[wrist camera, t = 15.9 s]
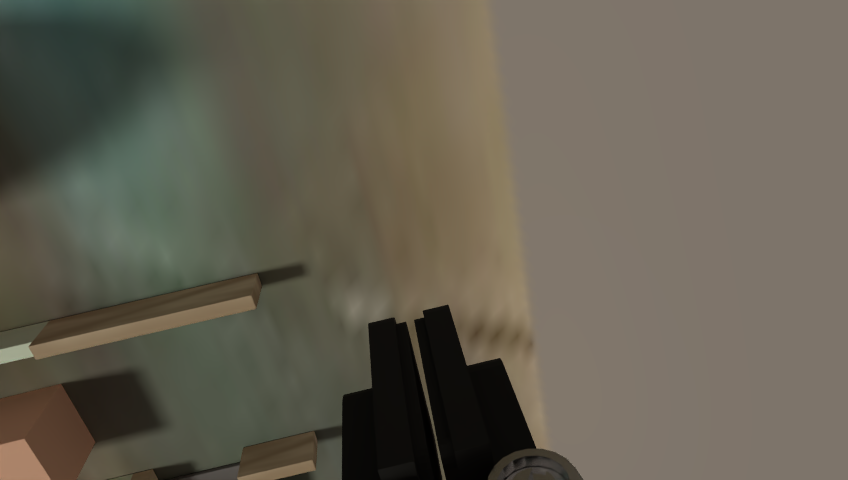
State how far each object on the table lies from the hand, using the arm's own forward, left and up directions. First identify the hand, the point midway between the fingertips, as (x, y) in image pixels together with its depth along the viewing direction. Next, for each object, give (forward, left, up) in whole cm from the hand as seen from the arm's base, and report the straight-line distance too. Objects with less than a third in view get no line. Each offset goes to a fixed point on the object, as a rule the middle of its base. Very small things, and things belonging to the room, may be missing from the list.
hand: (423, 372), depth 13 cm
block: (+17, -28, -27) cm, 43 cm away
